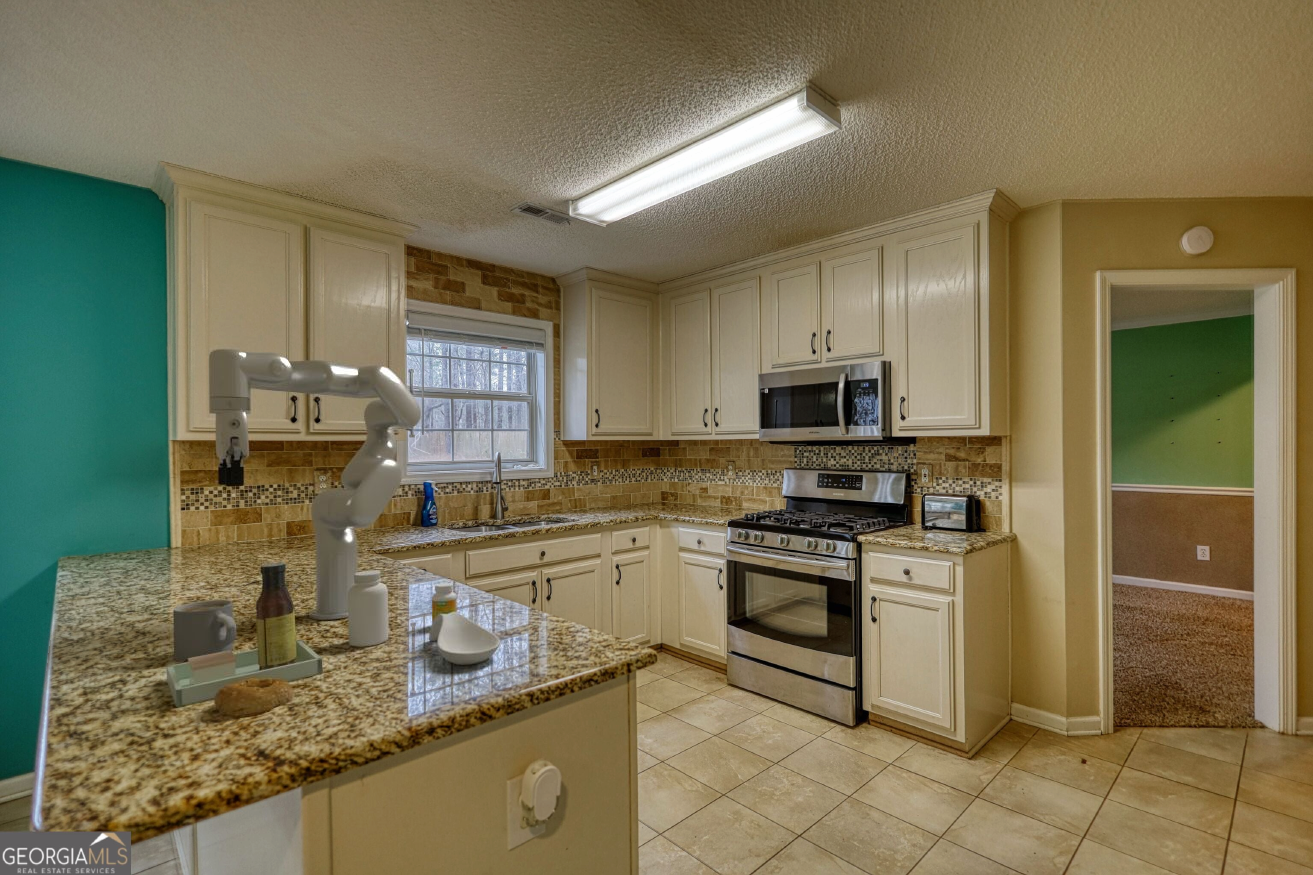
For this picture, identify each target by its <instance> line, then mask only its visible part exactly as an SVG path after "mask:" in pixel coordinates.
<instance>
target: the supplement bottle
mask: <svg viewBox="0 0 1313 875" xmlns="http://www.w3.org/2000/svg"><path fill="white" fill-rule="evenodd" d="M453 590H454V584H453V583H452V582H441V583H436V584H435V585H434V592H435V593H434V594H432V597H431V617H432V618H431V620H432V621H431V625H432V624H433V621H434V619H435V618H436V616H437V615H439V614H449V613H451V612H457V594H456V593H455V592H454V591H453Z"/></svg>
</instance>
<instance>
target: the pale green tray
mask: <svg viewBox="0 0 1313 875" xmlns="http://www.w3.org/2000/svg"><path fill="white" fill-rule="evenodd" d="M232 653H233V654H234V655H235V657H236V658H237V662H235V676H233V677H228V678H224V679H219V680H214V681H210V682H205V683H200V684H196V685H191V686H190V684H189V663H188V661H186V662H181V663H177V664H172V665H171V664H170V665H167V666H166V682H167V685H168V689H169V691H170V694H171V696H172V699H173V702H174V704H175V707H176V708H179V707H183V706H184V707H185V706H187V705H192V704H196V703H200V702H201V703H202V702H205V701H208V700H213V699H214V700H215V695H216V693H217V691H218V690H220V689H221V688H222V687H224V686H227V685H229V684H232V683H235V682H237V681H240V680H246V679H250V678H258V679H263V678H271V679H273V678H279V679H282V680H286V681H287V682H288V683H289V682H292V681H297V680H300V679H305V678H311V677H314V676H318V675H322V674H323V658H322V657H321V656H320V655H319V654H318V653H316V652H315V651H314V650H313V649H312V648H311V647H310V646H308V644H306V643H305V642H303V641H302V640H301V639H300V640H296V655H297V656H296V663H294V664H289V665H284V666H280V667H275V668H270V669H266V670H261V671H259V667H260V666H259V665H258V649H257V648H254V649H253V648H252V649H249V650H244V651H238V652H235V653H234V652H232Z"/></svg>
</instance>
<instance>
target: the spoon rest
mask: <svg viewBox="0 0 1313 875" xmlns="http://www.w3.org/2000/svg"><path fill="white" fill-rule="evenodd" d="M428 641H429V642H430V641H431V642H436V641H437V643H436V644H437V646H436V647H437V649H438V652H439V654H440V655H441V656H442V657H443V659H445V660H446V661H448V662H450V663H452V664H454V665H457V666H470V665H471V666H472V665H476V664H479V663H482V662H484V661H486V660H488V659H489V658H491V657H492V656H493V655H494V654H495V653H496V652H497V650H498V649H499V648H500V645H501V644H500V643H501V641H500V639H499V637H498V635H496V634H494V633H493V632H491V631H489V630H488V629H487V628H484V627H482V626H481V625H479V624H478V623H476V622H474V621H473V620H471V619H469V618H468V617H466V616H464V615H463V614H462V613H459V612H457V611H456V612H451V613H449V614H439V615H437V616H436V618H435V619H434V621H433V624H432V623H431V627H430V630H429V636H428Z"/></svg>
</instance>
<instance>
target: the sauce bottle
mask: <svg viewBox="0 0 1313 875" xmlns="http://www.w3.org/2000/svg"><path fill="white" fill-rule="evenodd" d="M286 570H287V565H286V563H285V562H272V563H265V564H262V565H261V566H260V573H261V580H262V586H261V588H262V590H261V593H260V596H259V597H258V599H257V600H256V603H255V611H256V617H255V622H256V623H255V625H256V628H255V629H256V644H257V648H256V649H258V665H259V666H260V667H259V671H261V670H266V669H270V668H275V667H280V666H284V665H289V664H294V663H296V656H297V655H296V641H297V639H296V636H297V635H296V634H297V633H296V620H295V619H296V617H295V616H296V615H295V605H294V603H293V600H292V597H291V594H290V592H289V590H288V587H287V585H286V584H287V583H286V574H285V573H286Z"/></svg>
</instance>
